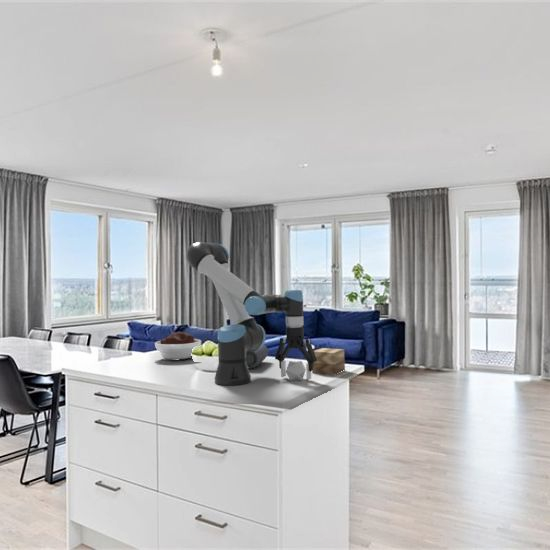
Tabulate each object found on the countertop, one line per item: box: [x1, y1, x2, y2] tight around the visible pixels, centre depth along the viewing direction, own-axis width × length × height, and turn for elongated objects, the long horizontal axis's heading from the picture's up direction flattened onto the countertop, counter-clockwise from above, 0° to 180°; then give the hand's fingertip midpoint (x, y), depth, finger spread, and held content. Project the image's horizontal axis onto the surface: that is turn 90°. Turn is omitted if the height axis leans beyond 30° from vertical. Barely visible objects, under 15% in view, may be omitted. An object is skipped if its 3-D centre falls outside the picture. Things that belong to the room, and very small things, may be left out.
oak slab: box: [313, 347, 345, 364], centre depth 221 cm, size 11×11×5 cm
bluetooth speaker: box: [246, 343, 269, 369], centre depth 240 cm, size 23×9×10 cm, turn 168°
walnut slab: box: [311, 359, 346, 376], centre depth 221 cm, size 11×11×5 cm
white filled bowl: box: [154, 331, 202, 360], centre depth 266 cm, size 25×25×15 cm
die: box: [286, 360, 307, 382], centre depth 206 cm, size 8×9×10 cm
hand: (296, 377), depth 206 cm, fingers open, 12 cm apart
